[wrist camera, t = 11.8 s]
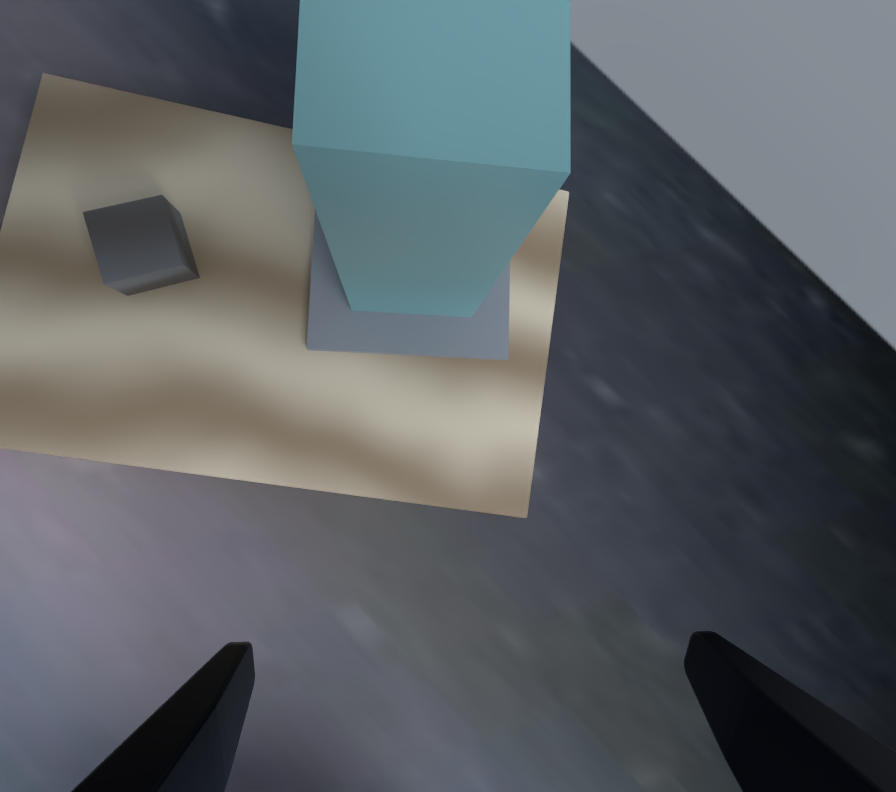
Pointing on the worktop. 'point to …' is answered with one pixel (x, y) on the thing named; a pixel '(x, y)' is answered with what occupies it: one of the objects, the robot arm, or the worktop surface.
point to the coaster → (401, 320)
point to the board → (233, 320)
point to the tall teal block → (430, 140)
